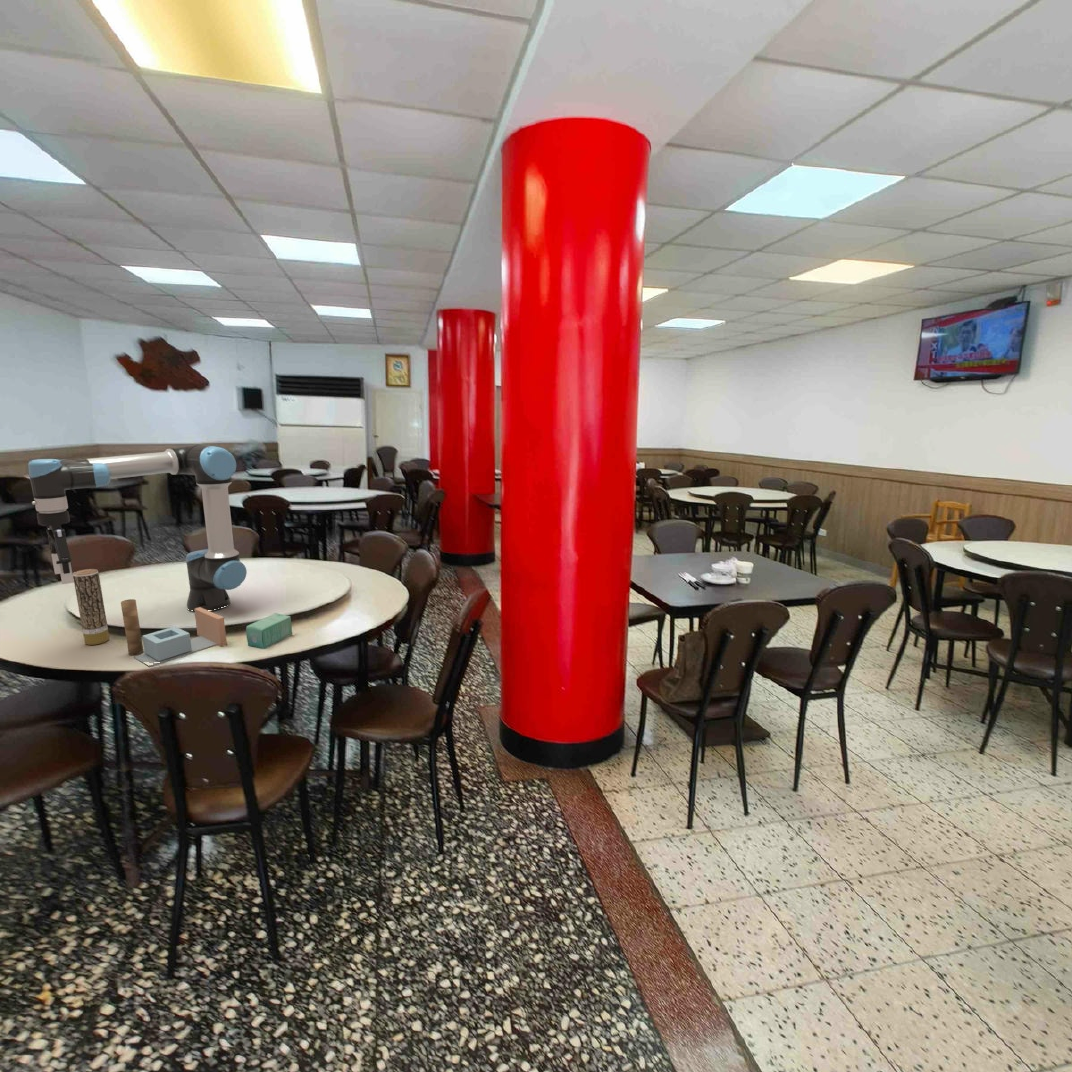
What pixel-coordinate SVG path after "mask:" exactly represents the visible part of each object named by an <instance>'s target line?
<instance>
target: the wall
mask: <svg viewBox="0 0 1072 1072" xmlns="http://www.w3.org/2000/svg"><path fill="white" fill-rule="evenodd" d="M194 611H195V612H194V617H195V625H196V633H197V637H199V636H202V637H204V638H206V639H208V640H210V641H212V642H214V643H216V644H217V645H216V646H219V647H222V648H223V647H224V646H227V645H228V643H227V641H228V640H227V633H226V626H225V625H226V624H225V617H223V616H222V615H219V614H216V613H214V612H213V611H208V610H206V609H203V608H201V607H199V608H195V609H194Z"/></svg>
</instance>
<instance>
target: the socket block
mask: <svg viewBox="0 0 1072 1072" xmlns="http://www.w3.org/2000/svg"><path fill="white" fill-rule="evenodd" d="M141 638H142V645H143V652H144V653H146V654H148V655H149V656H151V657H153V658H154V659H156V660H158V661H161V660H164V659H167V658H170V657H173V656H176V655H179V654H182V653H185V652H188V651H191V650H192V648H191V640H190V639H191V634H190V632H188V631H186V630H183V628H180V627H177V626H176V625H175V626H171V627H168V628H164V629H161V630H157V631H154V632H151V633H147V634H143V635H141Z"/></svg>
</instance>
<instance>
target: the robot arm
mask: <svg viewBox="0 0 1072 1072" xmlns="http://www.w3.org/2000/svg"><path fill="white" fill-rule="evenodd" d="M27 466H28V477H29V480H30V485H31V489H32V495H33V500H34V501H31V504H32V505H33V506H34V505H35V510H36V512H37V513H36V519H37V525H39V526H43V527H44V526H45V527H46V528H47V529H46V534H47V538H48V544H49V545H48V546H49V548H48V549H49V550H50V553H51V560H52V565H53V570H54V575H60V578H61V584H62V585H66V584H67V585H68V584H73V583H74V579H73V570H72V565H71V564H72V563H71V562H72V557H71V555H70V551H69V547H68V545H69V544H68V542H67V537H66V529H64V527H62V525H66V524H68V523H70V522H71V519H70V512H69V511H68V510H67V509H69V506H68V505H69V504H68V499H67V493H66V491H67V490H69V491H70V490H77V489H79V490H80V489H90V488H100V487H106V486H108V485H109V484H110V482H111V480H115V479H123V478H131V477H141V476H150V475H158V474H159V475H161V474H167V473H168V474H169V473H170V474H171V475H172V476H173V475H175V476H176V475H191V476H194V477H195V483H196V485H197V486H199V488H201V495H202V505H203V513H204V521H205V530H206V540H207V547H208V548H207V549H206V548H205V549H200V550H194V551H191V552H189V553H187V554H186V556H185V559H186V567H187V568H186V570H187V577H188V585H189V593H188V597H187V602H186V608H188V609H189V610H193V611H194V609H195V608H199V607H201V608H203V609H206V610H214V609H218V608H221V607H224V606H227V605H228V606H230V605H231V599H230V596H229V594H228V592H227V591H231V590H234V589H237V588H238V587H240V586H241V585H242V584H243V582H245V579H246V577H247V567H246V566H245V564H244V563H243V562H242V561H241V559H240V552H239V551H238V550H237V549H235V546H234V537H233V536H234V535H233V526H232V516H231V508H230V507H231V506H230V497H229V486H230V485H231V484H232V483H233V481H232V480H233V479H232V477H233V476H234V474H235V472H236V469H237V462H236V459H235V457H234V455H233V454H232V453H231V452H230V451H229V450H227V449H226V448H223V447H219V446H214V445H204V444H203V445H202V444H192V445H191V444H190V445H185V446H180V447H175V448H174V447H173V448H171V447H170V448H167V449H165V451H161V452H159V451H157V452H147V453H137V454H127V455H125V454H124V455H116V456H115V455H114V456H104V457H103V456H102V457H92V458H91V457H90V458H81V459H57V458H56V459H55V458H41V459H40V458H38V459H33V460H30V461H29V462H28V464H27ZM228 606H227V607H228ZM188 609H187V610H188ZM189 610H188V611H189Z"/></svg>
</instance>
